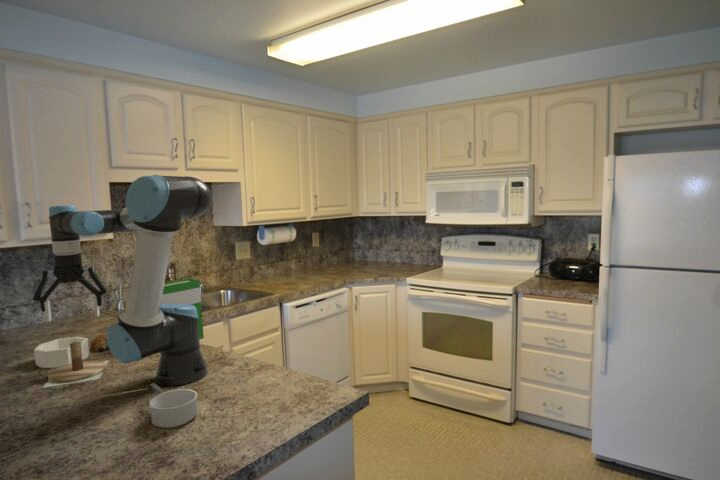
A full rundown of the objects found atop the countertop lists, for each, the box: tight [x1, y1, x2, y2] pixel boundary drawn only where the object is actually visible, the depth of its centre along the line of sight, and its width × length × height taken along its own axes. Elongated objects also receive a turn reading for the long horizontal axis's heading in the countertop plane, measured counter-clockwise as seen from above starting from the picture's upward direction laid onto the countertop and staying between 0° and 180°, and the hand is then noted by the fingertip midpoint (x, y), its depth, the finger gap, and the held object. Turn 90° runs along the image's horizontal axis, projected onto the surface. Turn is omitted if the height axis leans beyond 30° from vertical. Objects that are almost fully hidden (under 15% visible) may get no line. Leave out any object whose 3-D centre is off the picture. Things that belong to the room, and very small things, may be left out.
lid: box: [47, 342, 107, 383], centre depth 145 cm, size 16×16×10 cm
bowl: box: [33, 336, 90, 369], centre depth 158 cm, size 15×15×6 cm
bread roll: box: [90, 332, 110, 353], centre depth 171 cm, size 10×10×8 cm
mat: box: [42, 359, 109, 388], centre depth 145 cm, size 18×15×1 cm
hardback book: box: [161, 278, 204, 340], centre depth 175 cm, size 18×7×24 cm, turn 141°
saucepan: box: [148, 382, 198, 429], centre depth 116 cm, size 12×20×6 cm, turn 45°
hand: (73, 318), depth 144 cm, fingers open, 13 cm apart
